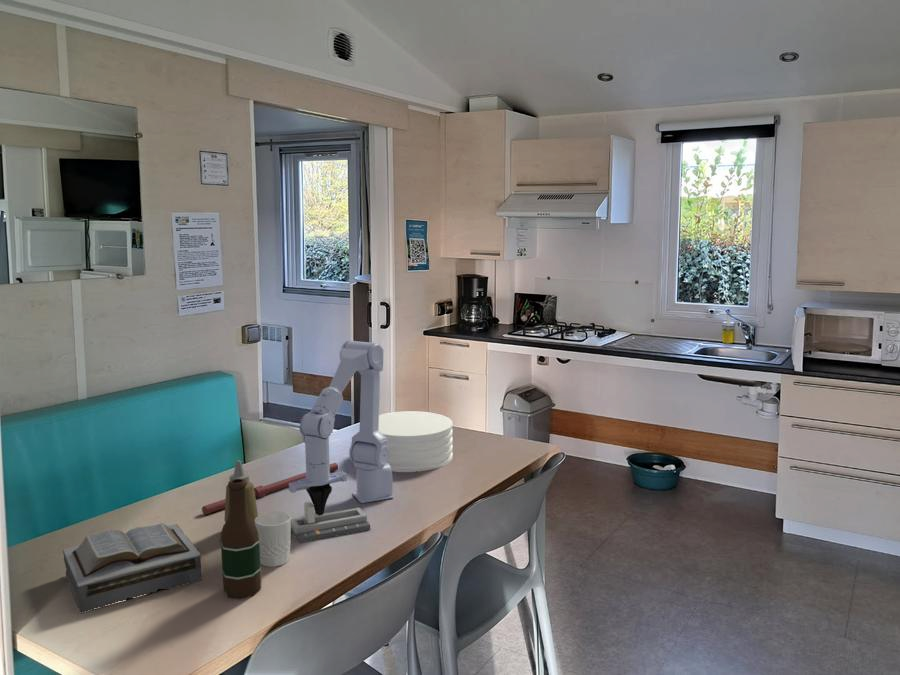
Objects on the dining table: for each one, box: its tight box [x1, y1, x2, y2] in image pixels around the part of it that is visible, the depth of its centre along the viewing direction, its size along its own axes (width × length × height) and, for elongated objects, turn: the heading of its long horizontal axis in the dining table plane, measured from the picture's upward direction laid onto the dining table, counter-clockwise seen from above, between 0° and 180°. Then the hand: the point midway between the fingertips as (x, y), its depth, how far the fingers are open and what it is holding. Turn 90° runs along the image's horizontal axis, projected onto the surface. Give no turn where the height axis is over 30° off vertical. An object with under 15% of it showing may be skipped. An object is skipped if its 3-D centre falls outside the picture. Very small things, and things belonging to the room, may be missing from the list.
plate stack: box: [379, 410, 454, 473], centre depth 240 cm, size 28×28×12 cm
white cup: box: [255, 511, 292, 568], centre depth 170 cm, size 8×8×10 cm
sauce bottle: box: [220, 479, 262, 600], centre depth 155 cm, size 8×8×24 cm
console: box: [291, 507, 371, 543], centre depth 188 cm, size 18×11×3 cm, turn 115°
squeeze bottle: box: [224, 460, 259, 524], centre depth 184 cm, size 8×8×18 cm
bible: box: [62, 523, 203, 614], centre depth 162 cm, size 23×27×10 cm
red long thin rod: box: [201, 462, 339, 516], centre depth 212 cm, size 45×3×3 cm, turn 139°
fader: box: [302, 501, 317, 525], centre depth 185 cm, size 3×4×6 cm
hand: (319, 513), depth 186 cm, fingers closed
